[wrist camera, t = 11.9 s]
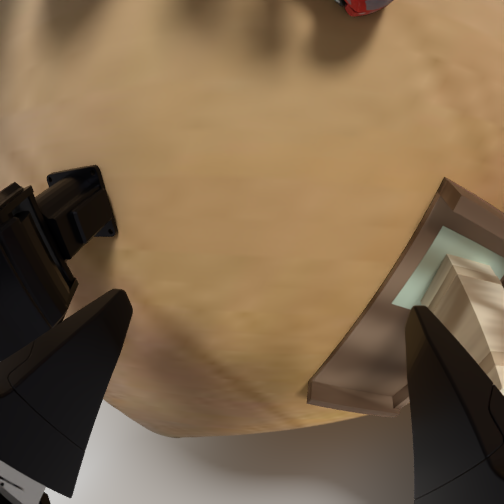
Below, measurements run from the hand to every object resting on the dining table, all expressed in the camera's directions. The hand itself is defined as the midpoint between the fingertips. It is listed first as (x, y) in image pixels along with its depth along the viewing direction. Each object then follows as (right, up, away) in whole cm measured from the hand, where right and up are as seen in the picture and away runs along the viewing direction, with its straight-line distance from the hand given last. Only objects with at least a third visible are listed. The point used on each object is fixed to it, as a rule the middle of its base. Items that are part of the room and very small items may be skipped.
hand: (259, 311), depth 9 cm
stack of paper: (+17, -1, +12) cm, 21 cm away
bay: (+15, -5, +16) cm, 23 cm away
